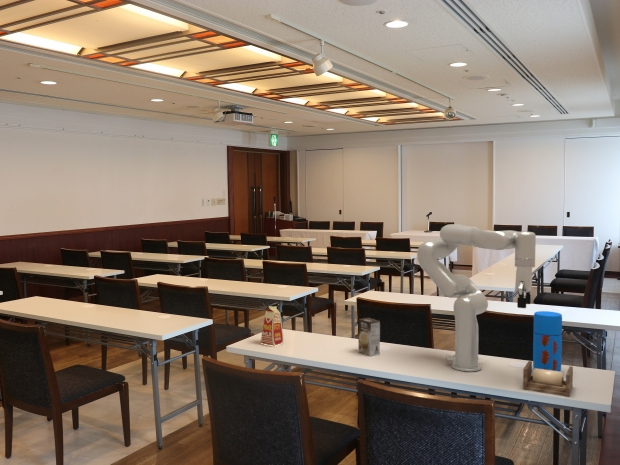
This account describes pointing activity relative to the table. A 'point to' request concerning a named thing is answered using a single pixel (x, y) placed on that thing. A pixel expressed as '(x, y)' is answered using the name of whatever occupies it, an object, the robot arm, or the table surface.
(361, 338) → the coffee box
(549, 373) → the kraft roll
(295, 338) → the table surface
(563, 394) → the cradle
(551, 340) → the thermos
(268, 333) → the milk carton
